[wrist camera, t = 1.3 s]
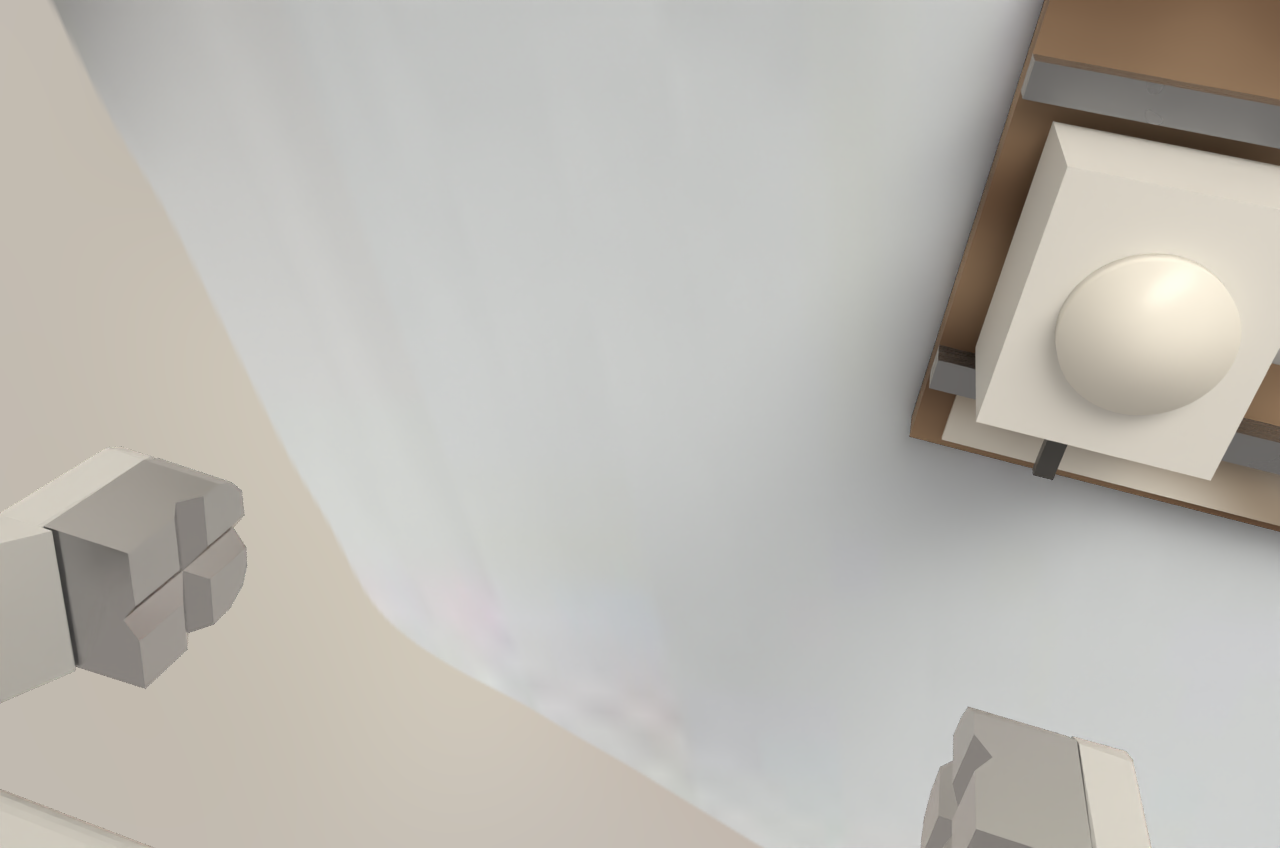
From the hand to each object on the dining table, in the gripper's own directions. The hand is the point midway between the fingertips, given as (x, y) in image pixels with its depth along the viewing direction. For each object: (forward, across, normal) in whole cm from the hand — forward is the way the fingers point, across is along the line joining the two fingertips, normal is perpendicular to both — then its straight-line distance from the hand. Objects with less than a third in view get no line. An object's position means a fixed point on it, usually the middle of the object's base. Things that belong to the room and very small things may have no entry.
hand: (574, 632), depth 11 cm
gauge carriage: (+22, -10, +2) cm, 25 cm away
